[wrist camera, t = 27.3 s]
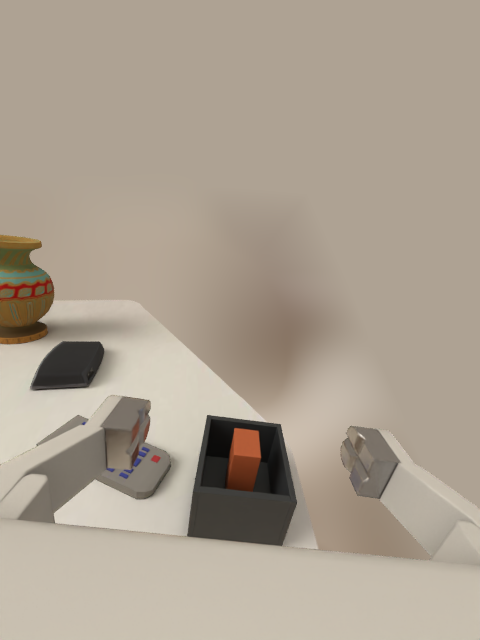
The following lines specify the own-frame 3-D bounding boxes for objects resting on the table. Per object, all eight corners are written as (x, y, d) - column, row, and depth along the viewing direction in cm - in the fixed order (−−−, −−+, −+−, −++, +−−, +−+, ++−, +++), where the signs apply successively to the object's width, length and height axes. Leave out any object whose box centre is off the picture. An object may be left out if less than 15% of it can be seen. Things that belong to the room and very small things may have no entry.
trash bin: (270, 462, 47) (280, 424, 44) (281, 548, 34) (297, 502, 31) (202, 454, 46) (207, 414, 43) (187, 538, 33) (193, 491, 30)
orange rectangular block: (247, 478, 42) (258, 430, 39) (248, 508, 38) (261, 457, 34) (225, 475, 42) (234, 427, 38) (223, 505, 37) (233, 454, 34)
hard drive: (25, 391, 55) (22, 376, 53) (58, 350, 72) (57, 338, 70) (90, 388, 59) (89, 374, 57) (107, 350, 76) (106, 339, 75)
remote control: (78, 421, 49) (78, 413, 48) (174, 462, 44) (175, 453, 43) (37, 452, 42) (36, 442, 41) (146, 504, 37) (146, 494, 36)
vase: (39, 318, 89) (27, 235, 79) (71, 334, 82) (63, 245, 72) (-37, 334, 72) (-65, 230, 62) (-5, 356, 65) (-31, 242, 55)
